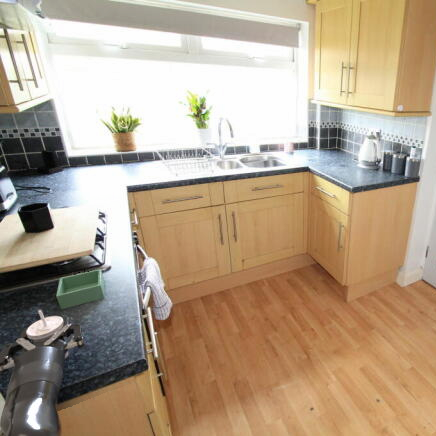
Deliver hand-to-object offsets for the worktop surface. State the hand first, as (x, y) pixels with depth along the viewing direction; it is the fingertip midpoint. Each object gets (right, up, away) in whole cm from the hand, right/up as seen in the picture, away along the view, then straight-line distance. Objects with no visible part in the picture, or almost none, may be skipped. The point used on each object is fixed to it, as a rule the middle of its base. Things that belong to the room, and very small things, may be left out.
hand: (48, 325), depth 73 cm
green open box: (-9, +2, +23) cm, 25 cm away
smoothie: (+1, -8, +2) cm, 9 cm away
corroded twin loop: (-16, +5, +31) cm, 36 cm away
